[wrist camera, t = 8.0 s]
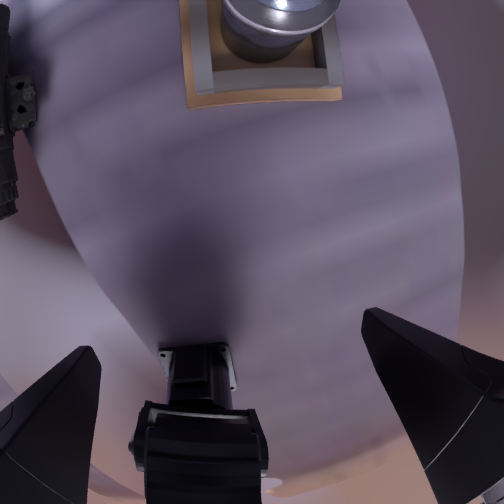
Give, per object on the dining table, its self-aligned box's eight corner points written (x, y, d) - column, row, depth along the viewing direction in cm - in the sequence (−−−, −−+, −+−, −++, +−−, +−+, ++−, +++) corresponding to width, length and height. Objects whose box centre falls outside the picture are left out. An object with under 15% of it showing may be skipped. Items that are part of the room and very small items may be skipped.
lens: (311, 20, 14) (358, -24, 7) (280, 78, 15) (318, 47, 9) (241, -11, 13) (255, -70, 6) (204, 46, 14) (199, -3, 8)
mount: (333, 101, 18) (357, 95, 14) (189, 110, 17) (183, 103, 14) (316, -13, 14) (334, -34, 10) (180, -11, 13) (175, -35, 10)
